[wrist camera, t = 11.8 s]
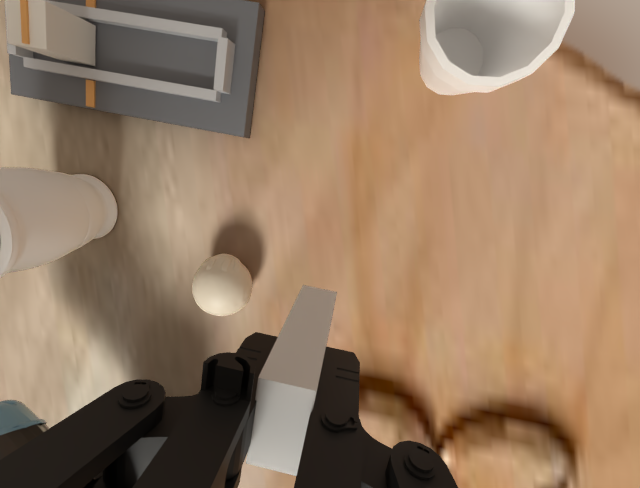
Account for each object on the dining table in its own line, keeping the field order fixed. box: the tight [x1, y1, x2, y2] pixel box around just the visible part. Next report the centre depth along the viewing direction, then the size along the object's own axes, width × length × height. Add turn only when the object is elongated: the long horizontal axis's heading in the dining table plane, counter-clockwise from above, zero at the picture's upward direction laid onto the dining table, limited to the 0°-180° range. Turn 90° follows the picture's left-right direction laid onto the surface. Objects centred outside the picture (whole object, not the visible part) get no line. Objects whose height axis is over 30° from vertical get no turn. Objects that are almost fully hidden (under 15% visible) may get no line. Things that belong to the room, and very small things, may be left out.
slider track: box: [5, 0, 265, 138], centre depth 37 cm, size 13×28×4 cm, turn 80°
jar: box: [0, 167, 118, 278], centre depth 37 cm, size 11×10×15 cm
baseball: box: [192, 254, 252, 316], centre depth 41 cm, size 7×7×7 cm
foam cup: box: [419, 0, 575, 95], centre depth 29 cm, size 10×9×13 cm
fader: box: [5, 0, 96, 66], centre depth 34 cm, size 4×4×6 cm
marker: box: [86, 0, 96, 108], centre depth 37 cm, size 13×1×1 cm, turn 170°
